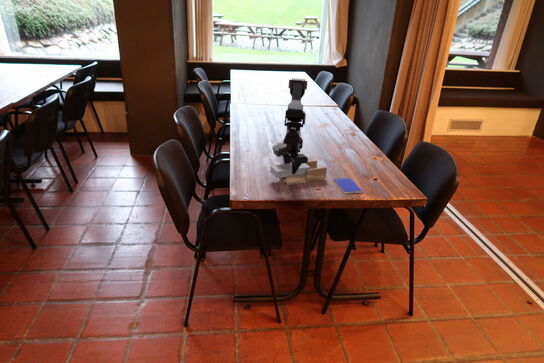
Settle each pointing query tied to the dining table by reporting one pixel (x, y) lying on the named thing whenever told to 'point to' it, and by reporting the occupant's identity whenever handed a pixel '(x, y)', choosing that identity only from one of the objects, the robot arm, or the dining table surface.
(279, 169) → the cover plate
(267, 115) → the dining table surface
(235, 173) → the dining table surface
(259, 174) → the dining table surface
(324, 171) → the birch box
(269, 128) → the dining table surface
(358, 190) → the hard drive
